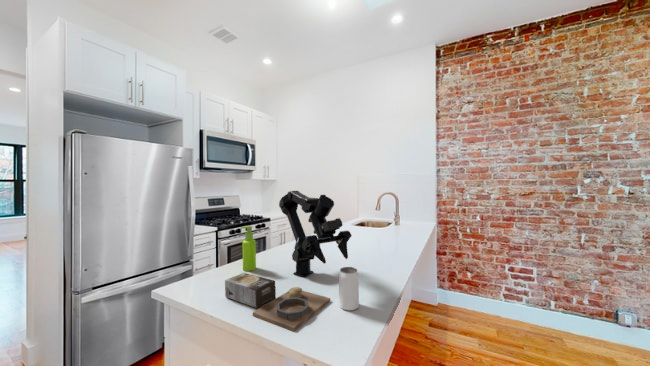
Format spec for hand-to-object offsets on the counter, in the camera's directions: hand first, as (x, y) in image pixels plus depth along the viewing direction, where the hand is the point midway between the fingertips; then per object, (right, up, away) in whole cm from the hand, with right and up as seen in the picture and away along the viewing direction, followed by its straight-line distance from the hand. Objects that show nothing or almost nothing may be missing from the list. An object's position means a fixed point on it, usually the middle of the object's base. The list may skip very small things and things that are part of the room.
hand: (336, 260), depth 89 cm
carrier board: (-14, -13, -7) cm, 21 cm away
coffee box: (-37, -10, +5) cm, 39 cm away
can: (+4, -13, -6) cm, 15 cm away
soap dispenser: (-40, -13, +30) cm, 52 cm away
